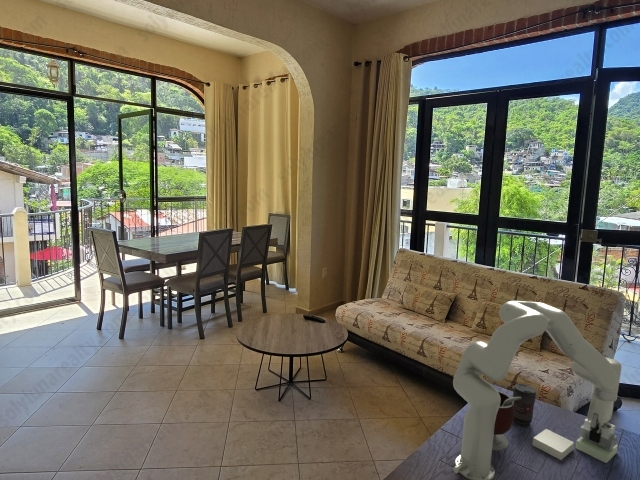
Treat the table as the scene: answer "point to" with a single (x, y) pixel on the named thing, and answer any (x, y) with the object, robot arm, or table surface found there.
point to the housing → (606, 435)
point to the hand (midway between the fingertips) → (597, 437)
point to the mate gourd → (503, 421)
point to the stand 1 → (553, 444)
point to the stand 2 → (595, 449)
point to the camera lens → (523, 404)
